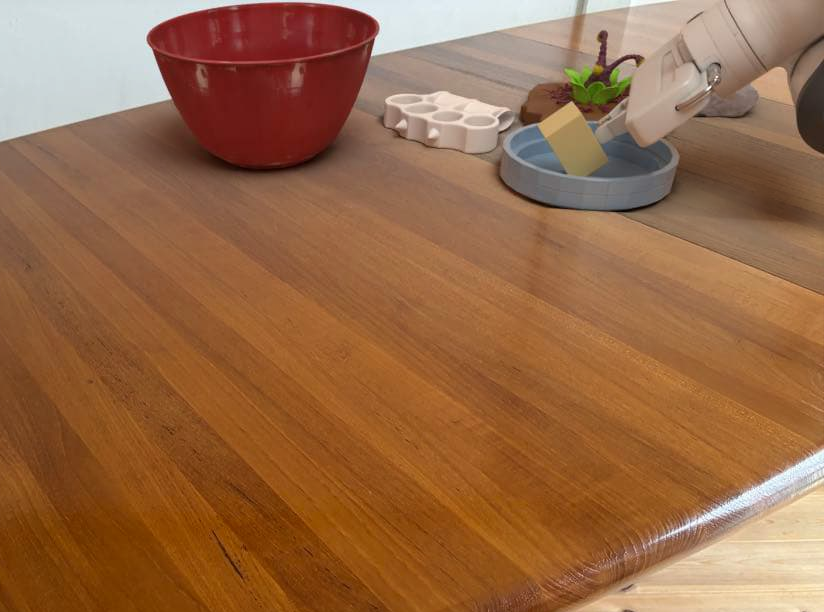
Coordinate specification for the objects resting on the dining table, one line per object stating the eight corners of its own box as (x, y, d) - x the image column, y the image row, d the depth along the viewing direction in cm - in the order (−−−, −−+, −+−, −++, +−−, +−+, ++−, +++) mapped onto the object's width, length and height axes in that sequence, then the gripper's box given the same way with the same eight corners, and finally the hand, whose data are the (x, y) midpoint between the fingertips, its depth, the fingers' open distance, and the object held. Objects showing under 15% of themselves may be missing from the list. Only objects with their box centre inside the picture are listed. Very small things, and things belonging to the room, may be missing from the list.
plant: (653, 98, 122) (673, 17, 115) (680, 145, 107) (704, 54, 100) (515, 95, 125) (526, 15, 118) (522, 140, 110) (535, 52, 103)
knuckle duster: (532, 134, 111) (462, 163, 104) (430, 105, 122) (361, 129, 115) (535, 109, 109) (465, 136, 102) (432, 82, 120) (362, 104, 113)
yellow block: (599, 147, 98) (571, 100, 95) (609, 161, 94) (581, 113, 91) (564, 170, 100) (536, 124, 97) (573, 184, 96) (545, 138, 93)
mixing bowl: (203, 211, 95) (190, 72, 85) (135, 135, 116) (119, 16, 106) (414, 167, 103) (423, 36, 94) (315, 104, 124) (315, -8, 115)
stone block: (734, 104, 124) (669, 88, 124) (752, 72, 121) (684, 56, 121) (752, 134, 115) (681, 117, 115) (771, 101, 112) (698, 83, 112)
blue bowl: (656, 154, 104) (664, 123, 102) (683, 220, 89) (694, 185, 87) (498, 147, 108) (503, 117, 105) (499, 209, 93) (504, 175, 90)
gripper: (738, 108, 79) (607, 189, 88) (729, 53, 94) (618, 127, 103) (703, 55, 77) (573, 143, 86) (700, 8, 92) (589, 87, 101)
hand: (598, 134), depth 95 cm, fingers closed
